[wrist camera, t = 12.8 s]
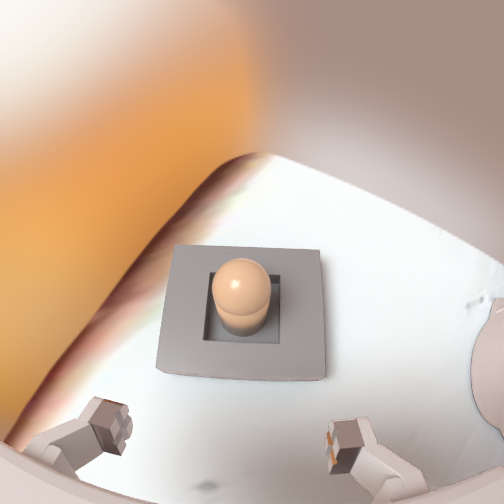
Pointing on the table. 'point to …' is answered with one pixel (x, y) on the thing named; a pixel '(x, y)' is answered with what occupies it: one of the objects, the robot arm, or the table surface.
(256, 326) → the peach dome-topped peg
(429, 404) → the table surface
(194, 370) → the grey square peg hole
